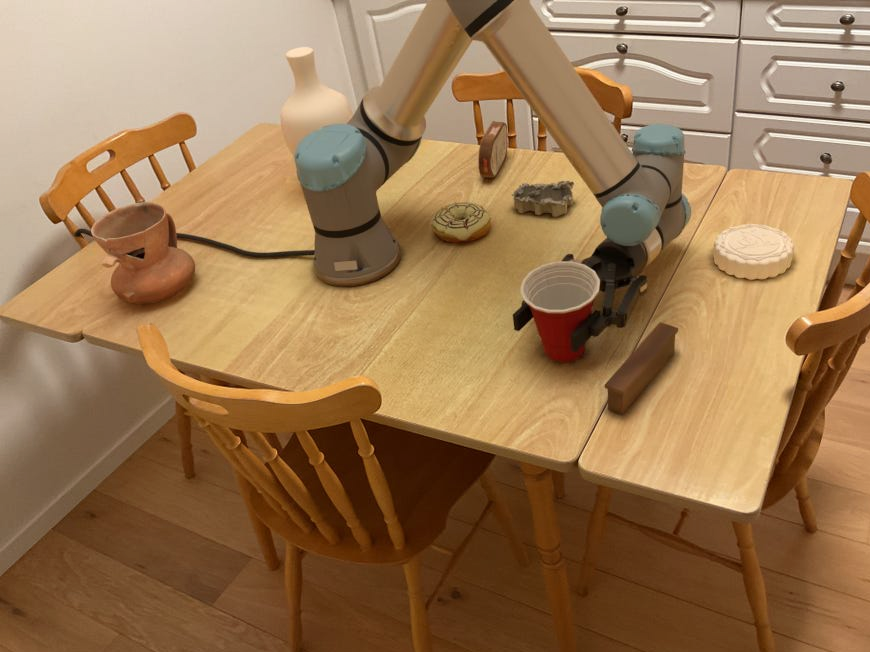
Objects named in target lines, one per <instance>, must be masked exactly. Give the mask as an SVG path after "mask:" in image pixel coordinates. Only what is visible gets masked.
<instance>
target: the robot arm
mask: <svg viewBox="0 0 870 652" xmlns="http://www.w3.org/2000/svg"><path fill="white" fill-rule="evenodd" d="M547 27H548V26H546V24H545V23H544V22H543V20H542V18H541V17H540V16H539V14H538V12H537V11H536V9H535V8H534V7H533V5H532V4H531V0H427V2H426V4H425V5H424V8H423V9H422V11H421V13H420V15H419V16H418V18H417V20H416V22H415V23H414V25H413V27H412V29H411V31H410V32H409V35H408V36H407V38H406V39H405V41H404V43H403V45H402V47H401V49H400V50H399V52H398V54H397V56H396V58H395V59H394V61H393V63H392V64H391V66H390V68H389V71H387V73H386V75H385V77H384V79H383V80H382V83H381V84H380V85H379V86H374V87H371V88H369V89H368V90H367V91H366V93H365V94H364V95H363V97H362V99H361V101H360V103H359V105H357V108H356V109H355V111H354V113H353V117H352V118H351V119H350V120H349V121H348V123H346V124H332V125H328V126H325V127H322V129H321V130H315V131H313V132H311V133H310V134H308V135H307V136H305V137H304V138H303V139H302V140H301V141H300V143H299V144H298V146H297V148H296V150H295V155H294V157H293V159H294V164H295V169H296V176H297V179H298V182H299V185H300V187H301V190H302V194H303V197H304V200H305V204H306V207H307V210H308V215H309V217H310V220H311V223H312V226H313V231H314V249H305V250H303V249H302V250H285V251H283V250H282V251H271V252H257V251H248V250H244V249H242V248H238V247H236V246H233V245H231V244H227V243H224V242H220V241H217V240H213V239H211V238H206V237H202V236H199V235H193V234H188V233H182V232H176V235H177V239H183V240H188V241H193V242H194V241H195V242H199V243H203V244H206V245H209V246H214V247H216V248H219V249H223V250H226V251H229V252H232V253H235V254H238V255H239V256H240V255H241V256H243V257H248V258H257V259H270V258H271V259H272V258H283V257H284V258H285V257H286V258H287V257H304V256H305V257H307V256H313V259H312V260H313V267H314V270H315V273H316V276H317V278H318V279H319V280H320V281H322V282H323V283H325V284H328V285H331V286H336V287H355V286H361V285H366V284H369V283H372V282H375V281H377V280H380V279H381V278H383V277H386V276H387V275H388V274H390V273H391V272H392V271H393V270H394V269H395V268H396V267H397V266H398V264H399V262H400V259H401V253H400V247H399V243H398V241H397V240H396V237H394V235H393V234H392V232H391V230H390V228H389V226H388V225H387V223H386V222H385V220H384V219H383V217H382V215H381V209H380V205H379V201H378V196H377V191H378V190H379V189H381V187H382V186H383V185H385V183H386V182H388V181H389V180H390V179H391V178H392V177H393V176H394V175H395V174H396V173H397V172H398V171H399V170H400V169H401V168H402V167H403V166H404V165H406V164H407V163H409V162H410V161H411V160H412V158H413V157H414V156H415V155H416V153H417V152H418V150H419V147H420V145H421V143H422V140H423V135H424V133H425V131H426V128H427V121H426V118H425V117H426V116H425V115H426V114H427V113H428V111H429V109H430V107H431V106H432V104H434V102H435V100H436V98H437V97H438V95H439V94H440V92H441V91H442V89H443V88H444V86H445V84H446V83H447V81H448V79H449V78H450V76H451V75H452V73H454V70H455V68H456V67H457V65H458V64H459V62H460V61H461V59H462V58H463V56H464V55H465V53H466V52H467V50H468V48H470V45H471V44H472V42H473V41H475V42H480V43H481V42H482V43H483V44H484V45H485V47H486V48H487V50H488V51H489V52H490V54H491V55H492V57H493V58H494V59H495V61H496V62H497V63H498V64H499V66H500V68H501V69H502V70H503V72H504V73H505V75H506V76H507V77H508V79H509V80H510V82H511V84H512V85H514V87H515V88H516V90H517V92H519V94H520V95H521V97H522V98H523V99H524V100H525V102H526V103H527V105H528V106H529V108H530V109H531V110H532V112H533V113H534V114H535V116H536V117H537V119H538V120H539V121H540V123H541V124H542V126H543V127H544V128H545V130H546V131H547V132H548V134H549V135H550V137H551V138H552V139H553V141H554V142H555V144H556V145H557V147H558V148H559V149H560V151H561V152H562V153H563V154H564V156H565V157H566V159H567V161H568V162H569V163H570V164H571V166H572V167H573V168H574V170H575V171H576V173H577V174H578V175H579V176H580V178H581V179H582V181H583V182H584V184H585V185H586V186H587V187H588V189H589V190H590V192H591V193H592V194H593V196H594V198H595V199H596V201H597V203H598V204H599V205H600V206H601V208H602V209H601V213H600V218H599V221H600V227H601V230H602V232H603V234H604V236H606V238H604V239H603V240H602V241H601V242H600V243H599V244H598V245H597V246H596V248H595V249H594V250H593V253H592V254H591V255H590V256H588V257H586V258H583V259H582V260H580V259H576V258H574V254H573V253H567V254H565V256H564V257H563V258H562V260H561V261H572V262H576V263H580V264H584V265H586V266H588V267H589V268H591V269H592V270H594V271H595V272H596V274H597V276H598V278H599V279H600V286H599V292H602V293H604V296H603V302H602V305H601V307H602V309H601V310H602V311H601V310H600V309H595V310H593V311H592V312H591V315H590V316H589V317H588V318H587V319H586V320H585V321H584V322H583V323H582V324H581V325H580V326H579V327H578V328H577V329H576V330H575V331H574V332H573V333H572V334H571V335H570V336H571V351H573V352H577V351H578V350H579V349H580V348H581V347H582V346H583V345H584V344H585V343H586V344H587V342H588V341H589V340H590V339H591V338H592V337H593V338H597V337H598V336H600V335H601V334H602V333H603V332H604V330H606V328H609V327H611V326H616V327H617V328H618V329H624V328H625V327H626V325H627V323H628V322H629V319H630V318H631V316H632V315H633V311H634V310H635V308H636V306H637V303H638V302H639V300H640V298H641V297H643V296H644V295H646V294H647V292H648V276H647V275H644V274H642V273H643V272H644V270H646V268H647V267H648V266H649V265H650V264H651V263H652V262H653V261H654V260H656V258H657V257H658V256H659V255H660V254H661V253H662V251H663V250H665V248H667V246H669V245H670V244H671V243H672V242H673V241H674V240H675V239H677V238H678V237H679V236H680V235H681V234H682V232H683V230H684V229H685V228H686V226H687V225H688V224H689V223H690V221H691V218H692V206H691V205H690V203H689V200H688V198H687V196H686V195H685V194H683V179H684V165H685V154H686V150H685V134H684V132H683V130H682V129H681V128H679V127H677V126H675V125H672V124H666V123H653V124H649V125H645V126H643V127H640V128H639V129H638V130H637V131H635V133H634V135H633V141H632V148H631V149H630V147H629V146H628V145H627V144H626V141H625V140H624V139H623V138H622V136H621V134H620V133H619V132H618V130H617V129H616V127H615V126H614V124H613V122H612V121H611V120H610V119H609V117H608V115H607V114H606V113H605V111H604V110H603V108H602V107H601V105H600V104H599V102H598V101H597V100H596V98H595V96H594V95H593V93H592V92H591V91H590V89H589V87H588V86H587V85H586V83H585V82H584V80H583V79H582V77H581V76H580V74H579V72H577V70H576V69H575V67H574V66H573V64H572V62H571V61H570V60H569V58H568V56H567V54H565V52H564V51H563V49H562V48H561V46H560V45H559V43H558V42H557V41H556V39H555V38H554V36H553V35H552V33H551V32H550V30H549V29H548V28H547ZM81 234H84V235H86V236H89V237H92V238H93V236H92V234H91V230H89V229H86V228H78V229H76V231H75V232H74V237H79V236H81ZM627 287H628V288H627ZM622 288H627V290H626V292H625V294H624V295H623V298H622V300H621V302H620V303H619V306H618V307H617V309H616V311H615V310H614V307H615V299H616V293H617V292H616V291H617V290H619V289H622ZM533 319H534V317H533V314H532V311H531V309H530V307H529V305H528V304H527V303H526V302H525V301H524V299H523V300H522V301H521V305H520V307H519V308H518V309H517V310H516V311H514V313H512V322H513V330H514V331H516V332H520V331H521V330H522V329H523V328H524V327H525V326H526V325H528V323H530V322H531V321H532V320H533Z"/></svg>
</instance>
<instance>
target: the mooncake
mask: <svg viewBox="0 0 870 652" xmlns="http://www.w3.org/2000/svg"><path fill="white" fill-rule="evenodd" d="M794 249H795V245H794V243H793V239H792V238H791V237H789V236H788V234H787V233H786V232H785V231H782V230H780V229H779V228H777V227H771V226H769V225H766V224H765V225H764V224H763V223H762V224H757V223H748V224H744V223H743V224H740V225H739V226H738V225H737V226H736V225H735V226H731V227H729V228H728V229H724V230H722V231H721V233H720V234H718V235H717V236H716V238H715V240H714V242H713V252H712V253H713V254H712V257H713V260H714V261H713V262H714V264H715V265H716V266H717V267H718V269H719V270H721V271H723V272H725V274H727V275H730V276H734V277H735V278H737V279H744V278H745V279H746V280H751V281H752V280H753V281H754V280H757V279H758V280H766V279H767V278H776V277H777V276H778V275H780V274H781V275H782V274H784V273H785V272H786V270H787V269H789V268H790V267H791V265H792V262H793V256H794V251H795V250H794Z"/></svg>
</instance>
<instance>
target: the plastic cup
mask: <svg viewBox="0 0 870 652" xmlns="http://www.w3.org/2000/svg"><path fill="white" fill-rule="evenodd" d="M520 285H521V286H520V290H519V292H520V293H521V296H522V299H523V300H524V301H525V302H526V303H527V304H528V305H529V307H530V309H531V311H532V314H533V317H534V318H533V320H534V324H535V328H536V330H537V333H538V336H539V338H540V341H541V345H542V348H543V350H544V353H545V355H546V356H547V358H549V359H550V360H551V361H554V362H557V363H570V362H575V361H576V360H578V359H580V358H581V357H582V355H583V354H584V352H585V350H586V346H587V342H586V343H585V344H584V345H583V346H582V347H581V348H580V349H579V350H578V351H577V352H573V351H571V336H570V335H571V334H572V333H573V332H574V331H575V330H576V329H577V328H578V327H579V326H580V325H581V324H582V323H583V322H584V321H585V320H586V319H587V318H588V317H589V316H590V315H591V314H592V313H593V308H594V303H595V301H596V297H597V295H598V294H599V292H600V291H599V286H600V279H599V278H598V276H597V274H596V272H595V271H594V270H592V269H591V268H589V267H588V266H586V265H584V264H580V263H576V262H572V261H562V260H559V261H552V262H549V263H545V264H541V265H540V266H538V267H536V268H535V269H533V270H531V271H529V272H528V274H527V275H526V276H525V277H524V278H523V279H522V281H521V284H520Z"/></svg>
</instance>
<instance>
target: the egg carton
mask: <svg viewBox="0 0 870 652" xmlns="http://www.w3.org/2000/svg"><path fill="white" fill-rule="evenodd" d="M574 186H575V183H574V181H570V180H561V181H558V183H554V182H551V183H546V184H545V183H542V182H541V183H535V184H534V183H533V184H529V183H526V182H525V183H524V182H523V183H522V185H519V187H518V188H516V190H514V191H513V193H512V194H511V196H512V197H513V203H514V205H513V206H514V209H516V210H517V212H518V213H519V214H524V213H526V212H534V215H536V216H541V215H543V214H551V215H552V217H553V218H557V217H559V216H562V215H566V214H567V213H568V207H569V206H570V207H571V206H572V205H573V204H574V198H573V197H574V195H573V191H572V190H573V188H574Z"/></svg>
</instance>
